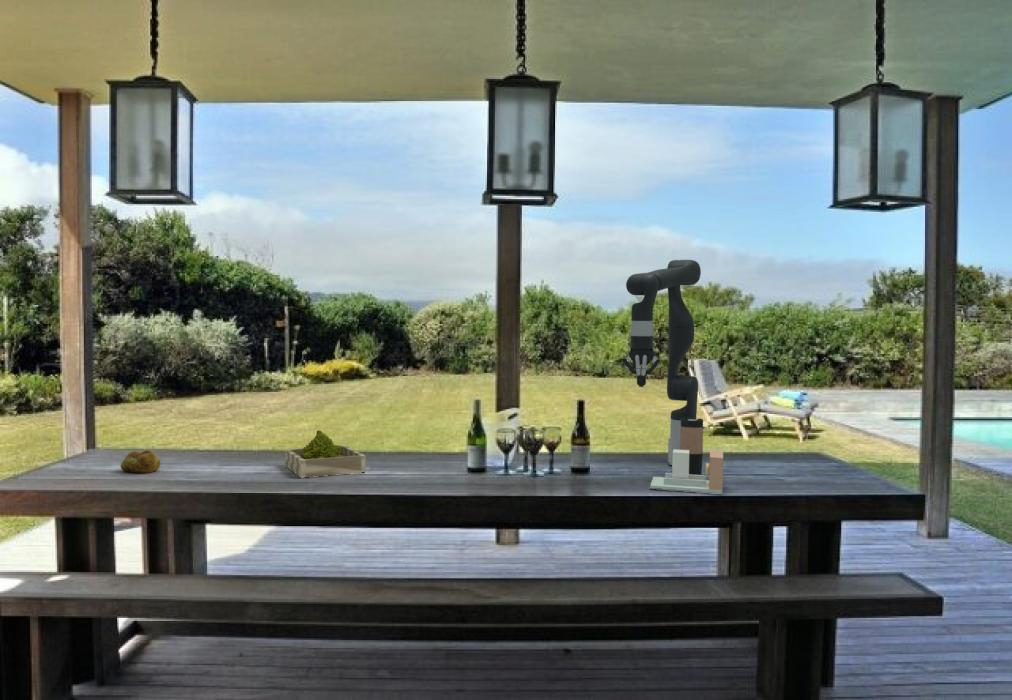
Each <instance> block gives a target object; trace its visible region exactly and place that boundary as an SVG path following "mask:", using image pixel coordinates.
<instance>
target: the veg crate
mask: <svg viewBox="0 0 1012 700" xmlns="http://www.w3.org/2000/svg"><path fill="white" fill-rule="evenodd" d="M340 446H341V449H340V453H339V455H343V457H331V458H318V459H305V460H304V459H303V458H302V457H301V456H300V454H303V453H304V451H303V448H304V447H302V448H290V449H289V448H288V449H285V450H284V452H285V453H284V467H285V466H286V467H287V469H288V468H289V469H290V470H291V471H290V470H289V469H288V470H289V471H290V472H292V471H293V472H294V473H295V474H297V475H298V476H299V477H301V478H304V477H313V476H324V475H336V474H350V475H352V474H351V473H361V472H366V471H367V470H366V466H367V464H366V461H367V460H366V459H367V457H366V455H365V454H364V453H361V452H359V451H357V450H355V449H354V448H351V447H349V446H348V445H340ZM286 467H285V468H286ZM293 472H292V473H293ZM294 473H293V474H294ZM297 475H296V476H297ZM298 476H297V477H298ZM299 477H298V478H299ZM301 478H300V479H301ZM304 479H305V478H304Z"/></svg>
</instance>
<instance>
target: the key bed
mask: <svg viewBox="0 0 1012 700" xmlns="http://www.w3.org/2000/svg"><path fill="white" fill-rule="evenodd" d="M707 475H708V476H709V477H708V478H709V480H708V479H707ZM723 478H724V450H721V449H718V450H717V449H716V450H715V449H710V450H709V462H705V475H704V474H701V475H690V474H689V479H676V478H672V472H665V474H664V476H663V477H662V476H653V477H652V480H651V483H650V485H649V489H650V488H662V489H676V490H691V491H702V492H718V493H722V494H723V485H724V484H723V483H724V482H723V481H724V479H723Z"/></svg>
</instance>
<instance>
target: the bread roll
mask: <svg viewBox="0 0 1012 700" xmlns="http://www.w3.org/2000/svg"><path fill="white" fill-rule="evenodd" d="M159 468H161V458H160V457H159V456H158V454H156V453H154V452H153V451H151V450H147V449H145V450H144V451H142V452H140V451H132V452H130V453H128V454H127V455H126V456H125V458H124V460H123V461H121V463H120V469H121V470H122V471H123V472H125V473H135V474H150V473H149V472H151V473H154V472H153V471H155V472H156V470H159Z"/></svg>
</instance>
